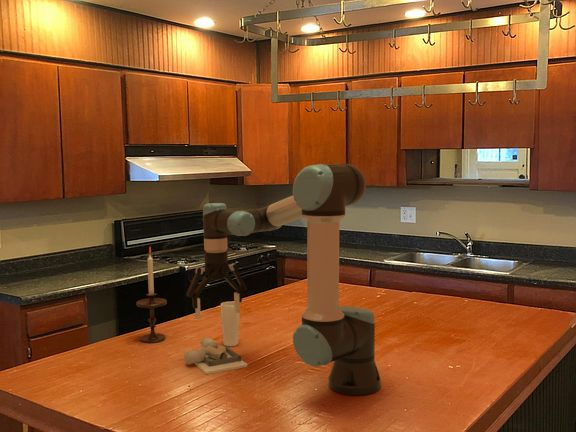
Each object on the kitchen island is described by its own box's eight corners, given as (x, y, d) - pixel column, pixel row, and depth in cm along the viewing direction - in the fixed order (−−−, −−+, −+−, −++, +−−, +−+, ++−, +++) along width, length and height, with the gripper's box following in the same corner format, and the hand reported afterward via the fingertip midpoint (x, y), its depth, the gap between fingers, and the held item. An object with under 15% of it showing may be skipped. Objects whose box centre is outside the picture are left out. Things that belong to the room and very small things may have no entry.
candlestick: (145, 334, 230) (142, 243, 226) (172, 335, 228) (169, 244, 224) (132, 343, 219) (129, 248, 216) (160, 344, 217) (157, 248, 214)
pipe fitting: (221, 354, 204) (204, 357, 200) (221, 343, 204) (204, 345, 200) (235, 360, 199) (218, 363, 194) (235, 348, 198) (219, 351, 194)
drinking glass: (244, 344, 216) (243, 303, 215) (230, 348, 212) (229, 307, 210) (231, 340, 221) (230, 300, 220) (217, 344, 216) (216, 303, 215)
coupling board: (247, 366, 193) (247, 352, 193) (196, 376, 185) (196, 361, 185) (222, 347, 213) (222, 334, 212) (175, 355, 205) (175, 341, 204)
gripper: (246, 246, 205) (248, 307, 207) (175, 252, 193) (177, 317, 195) (255, 249, 198) (257, 312, 200) (182, 255, 187) (184, 322, 189)
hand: (217, 315), depth 198 cm, fingers open, 13 cm apart
